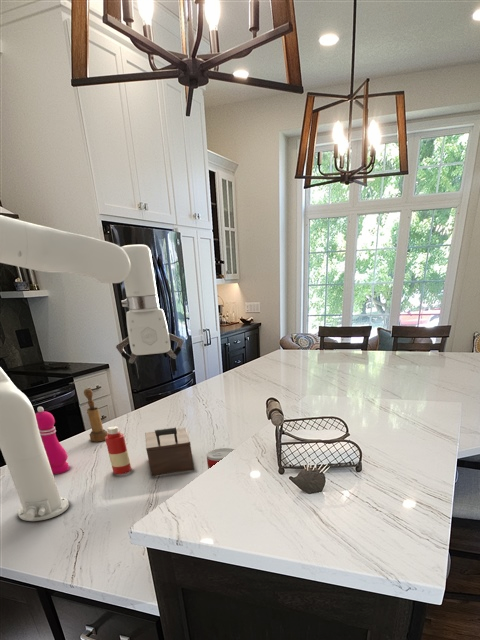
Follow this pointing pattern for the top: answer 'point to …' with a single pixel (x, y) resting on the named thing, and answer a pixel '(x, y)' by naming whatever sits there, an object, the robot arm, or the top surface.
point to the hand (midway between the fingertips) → (155, 376)
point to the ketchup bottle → (117, 451)
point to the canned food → (217, 455)
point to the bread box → (170, 460)
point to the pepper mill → (51, 442)
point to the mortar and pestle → (94, 419)
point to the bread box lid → (166, 438)
